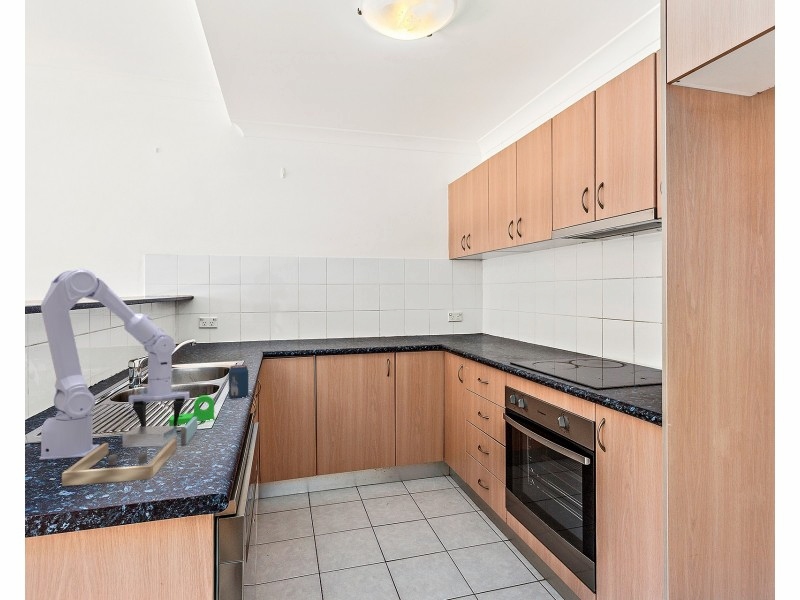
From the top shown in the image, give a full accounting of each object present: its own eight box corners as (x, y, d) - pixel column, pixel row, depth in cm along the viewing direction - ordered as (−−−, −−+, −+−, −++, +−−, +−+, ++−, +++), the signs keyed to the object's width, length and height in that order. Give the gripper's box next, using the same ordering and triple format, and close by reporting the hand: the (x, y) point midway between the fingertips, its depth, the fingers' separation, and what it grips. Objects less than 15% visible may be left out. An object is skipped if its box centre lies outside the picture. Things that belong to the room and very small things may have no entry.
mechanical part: (213, 417, 140) (213, 392, 140) (214, 422, 134) (214, 395, 134) (170, 421, 135) (170, 395, 135) (169, 426, 129) (169, 399, 129)
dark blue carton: (247, 395, 171) (247, 364, 171) (249, 399, 164) (249, 366, 165) (227, 397, 168) (227, 365, 168) (229, 401, 162) (229, 368, 162)
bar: (182, 444, 112) (182, 428, 112) (193, 431, 124) (193, 416, 124) (186, 444, 113) (186, 428, 113) (197, 430, 124) (197, 416, 124)
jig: (61, 486, 87) (62, 463, 87) (108, 450, 108) (108, 431, 108) (159, 478, 91) (159, 456, 91) (185, 445, 112) (186, 427, 112)
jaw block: (122, 448, 111) (122, 434, 111) (137, 439, 118) (137, 426, 118) (163, 447, 111) (163, 433, 111) (176, 439, 118) (176, 426, 118)
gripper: (126, 382, 116) (125, 434, 116) (187, 378, 121) (187, 428, 121) (132, 377, 123) (132, 427, 122) (190, 374, 127) (190, 422, 127)
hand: (159, 427), depth 122 cm, fingers open, 7 cm apart
